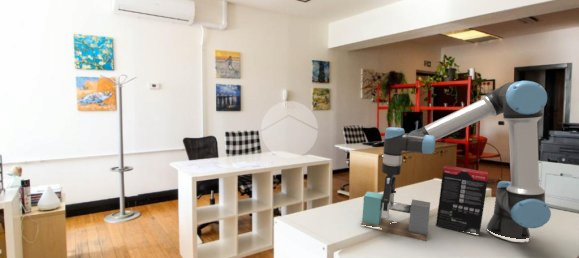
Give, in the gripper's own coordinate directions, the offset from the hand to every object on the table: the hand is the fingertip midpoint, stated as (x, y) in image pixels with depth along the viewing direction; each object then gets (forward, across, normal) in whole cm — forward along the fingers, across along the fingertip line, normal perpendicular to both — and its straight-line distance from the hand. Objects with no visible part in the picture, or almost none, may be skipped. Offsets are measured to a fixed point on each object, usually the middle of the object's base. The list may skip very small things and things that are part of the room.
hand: (387, 212), depth 137 cm
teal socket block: (+5, 0, -6) cm, 8 cm away
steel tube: (-2, 0, +2) cm, 3 cm away
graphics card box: (+7, -15, +28) cm, 33 cm away
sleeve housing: (+5, 0, +13) cm, 14 cm away
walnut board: (+7, 0, +3) cm, 7 cm away
